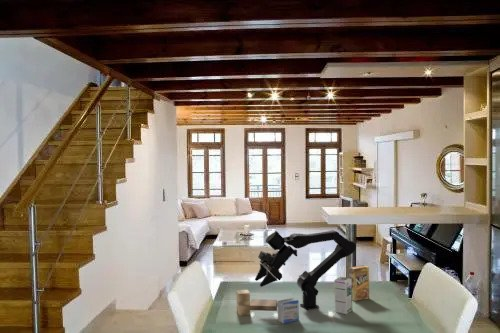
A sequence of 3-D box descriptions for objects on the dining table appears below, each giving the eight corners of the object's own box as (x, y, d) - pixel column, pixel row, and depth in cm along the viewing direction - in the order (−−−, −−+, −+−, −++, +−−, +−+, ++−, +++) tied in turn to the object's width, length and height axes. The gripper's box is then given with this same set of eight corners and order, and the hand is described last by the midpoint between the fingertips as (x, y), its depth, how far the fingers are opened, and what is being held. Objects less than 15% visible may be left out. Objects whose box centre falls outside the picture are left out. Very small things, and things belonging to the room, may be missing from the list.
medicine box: (283, 324, 180) (282, 303, 180) (277, 320, 184) (277, 300, 184) (299, 320, 184) (298, 300, 183) (293, 317, 188) (293, 297, 187)
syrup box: (347, 314, 190) (346, 281, 189) (334, 311, 193) (334, 279, 193) (352, 310, 194) (352, 278, 194) (340, 308, 198) (339, 276, 197)
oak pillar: (247, 310, 197) (247, 289, 196) (250, 314, 192) (249, 292, 191) (236, 311, 196) (236, 290, 195) (238, 315, 191) (238, 293, 190)
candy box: (354, 301, 206) (354, 269, 206) (349, 298, 210) (348, 266, 210) (369, 298, 210) (369, 266, 209) (364, 296, 214) (363, 264, 213)
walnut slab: (277, 304, 206) (277, 299, 206) (275, 310, 197) (275, 306, 197) (251, 303, 208) (251, 299, 208) (249, 309, 199) (249, 305, 199)
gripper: (263, 241, 205) (241, 266, 203) (274, 249, 186) (249, 277, 184) (280, 256, 206) (257, 281, 204) (292, 266, 188) (268, 294, 186)
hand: (257, 283), depth 195 cm, fingers open, 9 cm apart
